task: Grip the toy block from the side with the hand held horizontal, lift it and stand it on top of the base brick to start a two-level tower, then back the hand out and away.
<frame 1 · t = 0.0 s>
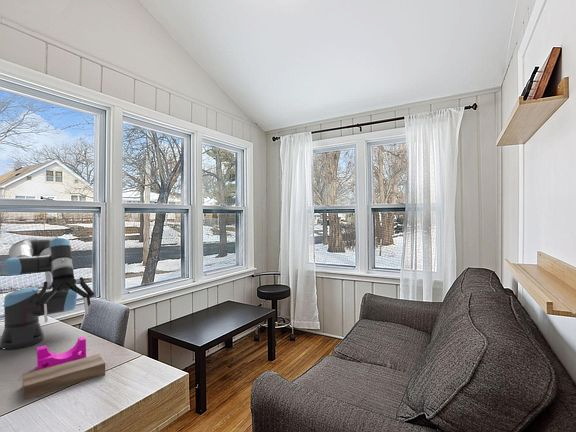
hand: (67, 317, 127), 15 cm above the table, tool tilted 35°, fingers open, 13 cm apart
toy block: (62, 363, 120), on the table
base brick: (65, 380, 107), on the table
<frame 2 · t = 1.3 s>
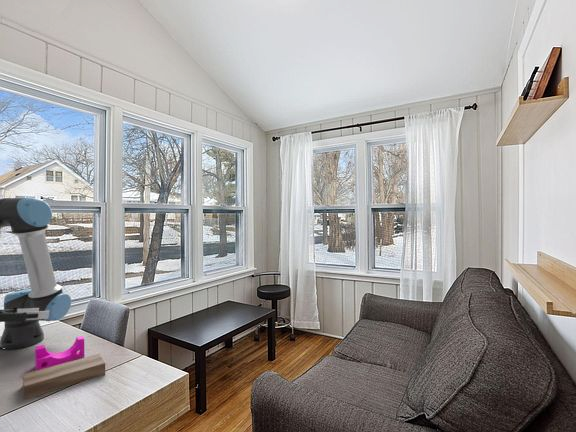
hand: (43, 313, 118), 20 cm above the table, tool horizontal, fingers open, 13 cm apart
toy block: (61, 363, 120), on the table
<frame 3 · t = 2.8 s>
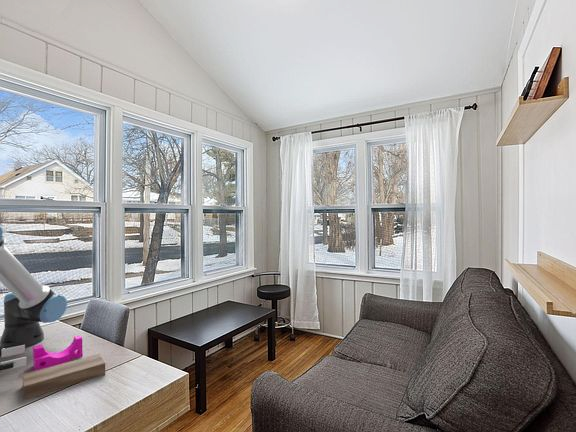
hand: (25, 354, 113), 7 cm above the table, tool horizontal, fingers open, 13 cm apart
toy block: (59, 362, 121), on the table
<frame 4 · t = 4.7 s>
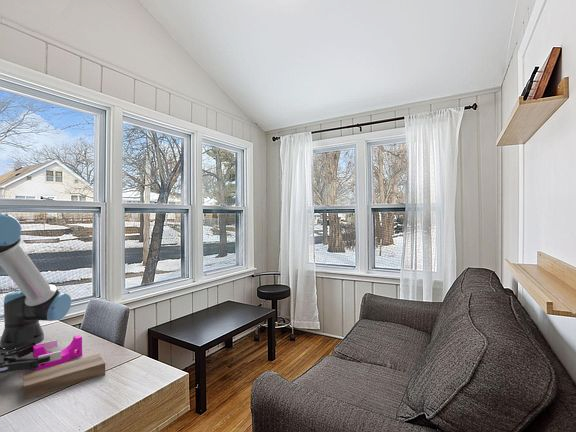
hand: (59, 348, 119), 6 cm above the table, tool horizontal, fingers open, 13 cm apart
nothing on the table moved.
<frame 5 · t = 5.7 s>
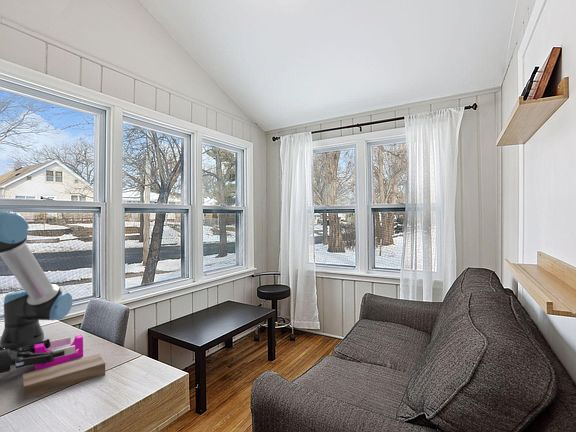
hand: (72, 344, 122), 6 cm above the table, tool horizontal, fingers open, 11 cm apart
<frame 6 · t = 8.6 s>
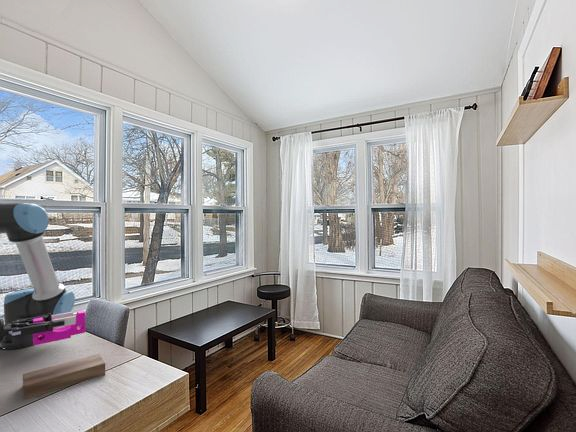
hand: (74, 317, 115), 19 cm above the table, tool horizontal, fingers closed on toy block, 6 cm apart
toy block: (60, 337, 112), point 12 cm above the table, touching gripper
when the fingers open (11 cm above the table, at t = 10.9 s): toy block drops 1 cm, resting on base brick.
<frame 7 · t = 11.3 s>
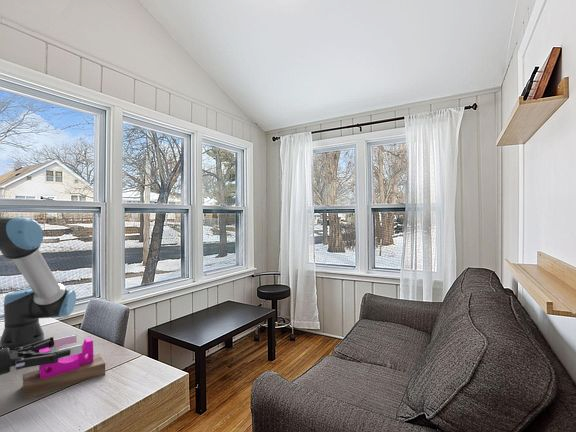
hand: (79, 343, 110), 11 cm above the table, tool horizontal, fingers open, 11 cm apart
toy block: (67, 368, 108), point 4 cm above the table, touching base brick
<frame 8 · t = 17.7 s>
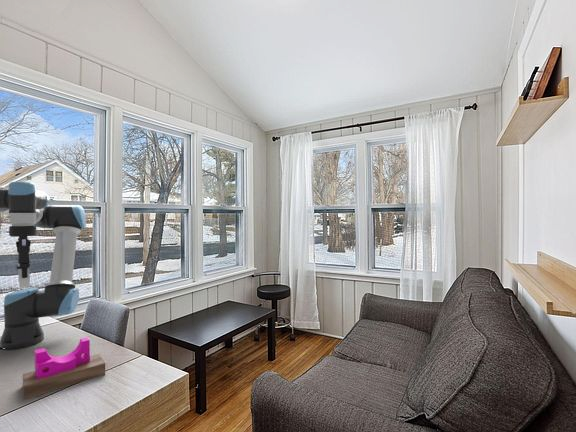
hand: (24, 284, 113), 32 cm above the table, tool pointing down, fingers open, 13 cm apart
toy block: (64, 368, 108), point 4 cm above the table, touching base brick
at the end: toy block inside the target area on the base brick (1.5 cm from its centre), point 3.8 cm above the base brick's base; toy block tilted 0°; the gripper is holding nothing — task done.
